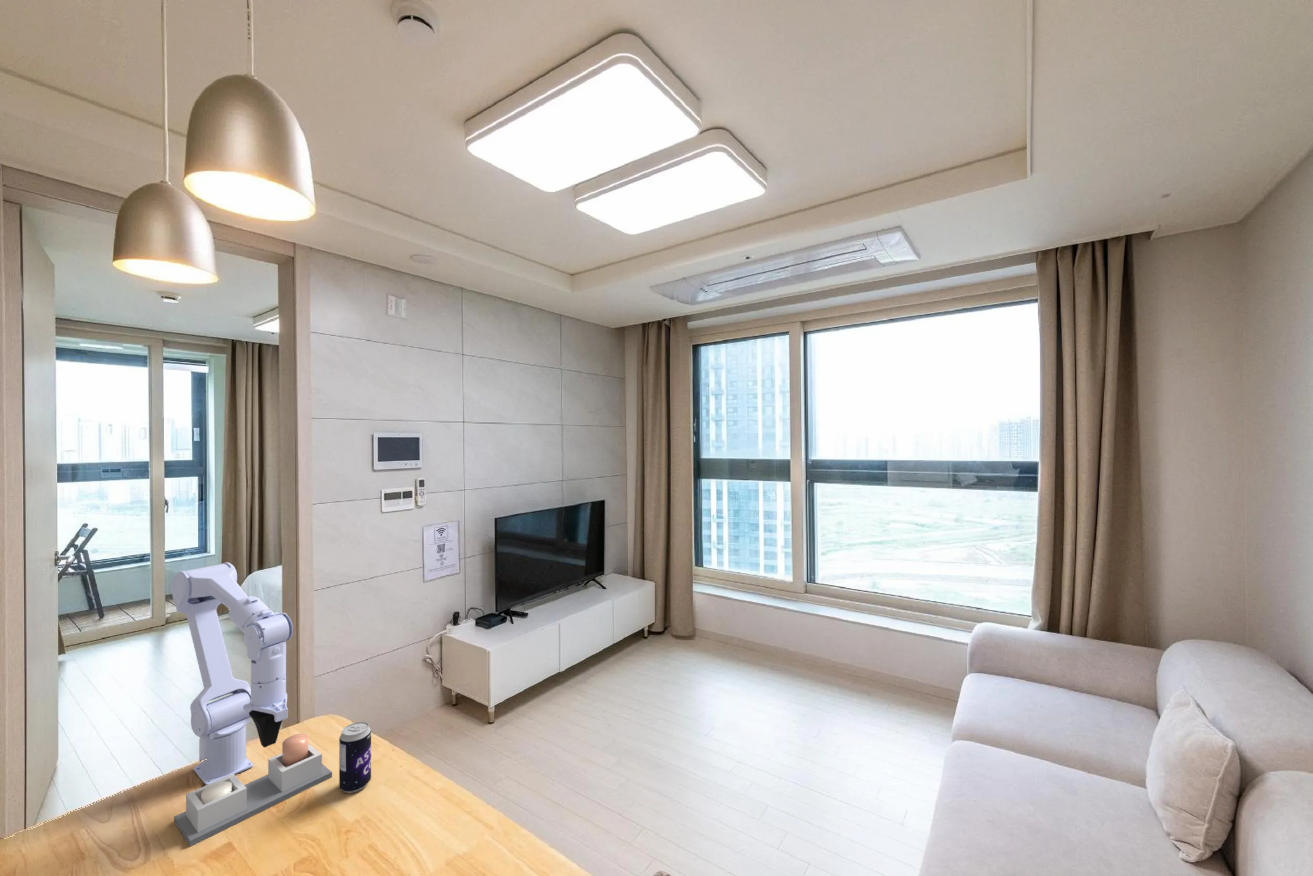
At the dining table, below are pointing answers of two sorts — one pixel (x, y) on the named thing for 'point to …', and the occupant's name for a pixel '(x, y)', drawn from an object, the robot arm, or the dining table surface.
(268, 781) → the plug panel
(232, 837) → the dining table surface
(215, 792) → the cream plug
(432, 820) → the dining table surface
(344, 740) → the beverage can
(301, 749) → the terracotta plug
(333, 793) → the dining table surface
